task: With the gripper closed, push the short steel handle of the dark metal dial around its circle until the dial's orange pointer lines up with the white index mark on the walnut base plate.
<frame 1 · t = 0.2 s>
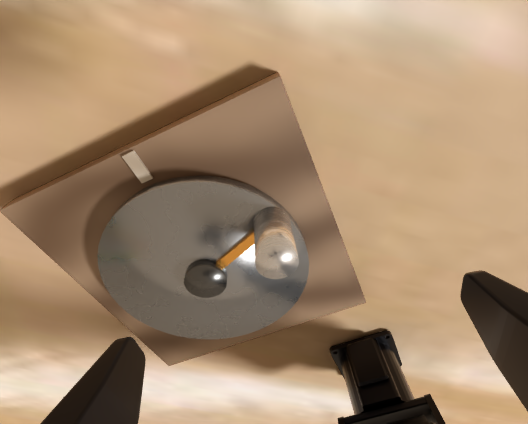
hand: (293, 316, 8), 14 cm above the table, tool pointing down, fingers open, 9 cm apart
base plate: (210, 250, 25), on the table
capstan dial: (205, 289, 21), point 4 cm above the table, hinge at -70.0°
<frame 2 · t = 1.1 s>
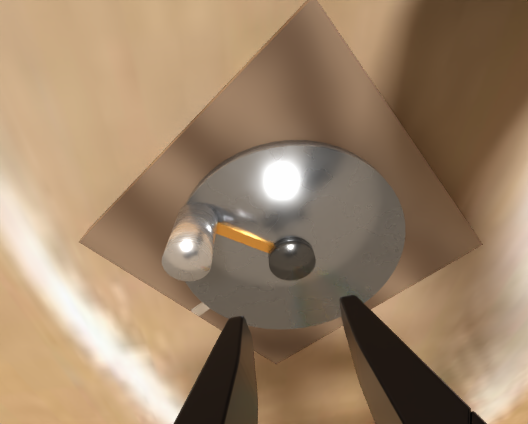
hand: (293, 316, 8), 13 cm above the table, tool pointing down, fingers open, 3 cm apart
base plate: (286, 230, 23), on the table
capstan dial: (292, 270, 19), point 4 cm above the table, hinge at -70.0°
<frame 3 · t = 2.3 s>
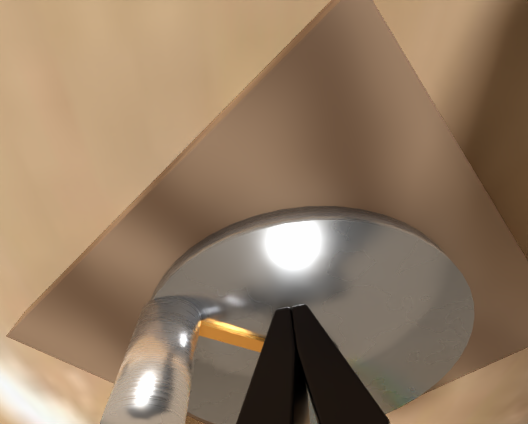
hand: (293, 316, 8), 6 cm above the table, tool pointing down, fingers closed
base plate: (298, 308, 17), on the table
capstan dial: (311, 388, 13), point 4 cm above the table, hinge at -70.0°
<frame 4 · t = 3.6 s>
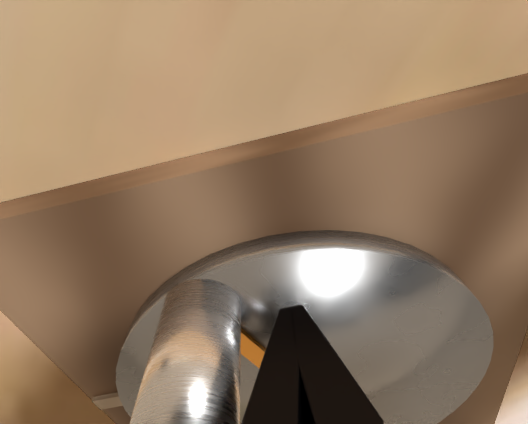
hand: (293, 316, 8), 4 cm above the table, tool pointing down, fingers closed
base plate: (296, 334, 15), on the table
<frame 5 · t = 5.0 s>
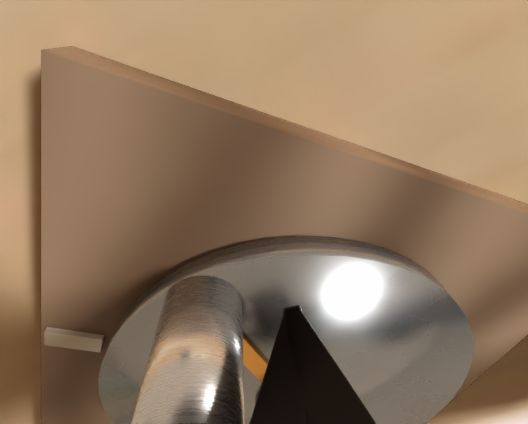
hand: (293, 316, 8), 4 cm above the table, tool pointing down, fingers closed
base plate: (282, 339, 15), on the table
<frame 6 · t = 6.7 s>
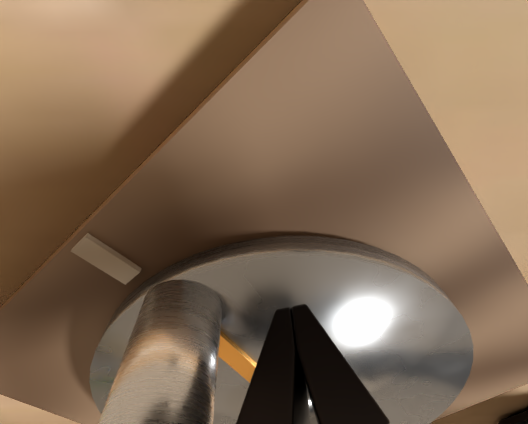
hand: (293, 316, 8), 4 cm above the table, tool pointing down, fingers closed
base plate: (278, 338, 15), on the table
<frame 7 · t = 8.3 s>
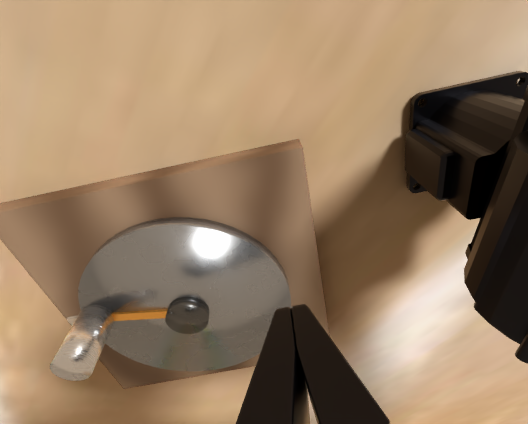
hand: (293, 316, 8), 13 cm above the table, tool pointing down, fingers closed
base plate: (193, 283, 25), on the table
capstan dial: (183, 328, 21), point 4 cm above the table, hinge at -10.5°
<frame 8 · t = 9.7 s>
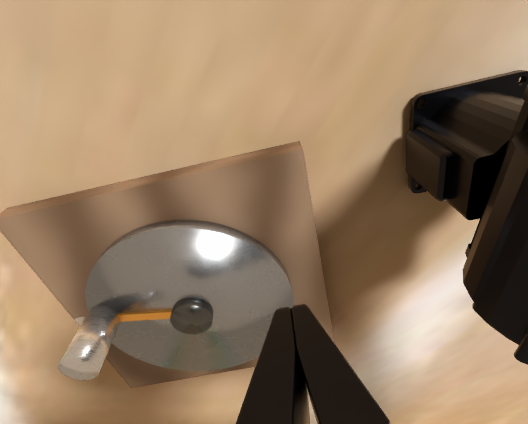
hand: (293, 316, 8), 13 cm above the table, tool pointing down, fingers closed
base plate: (198, 284, 25), on the table
capstan dial: (188, 329, 22), point 4 cm above the table, hinge at -10.5°
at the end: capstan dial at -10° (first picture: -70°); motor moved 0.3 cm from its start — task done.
